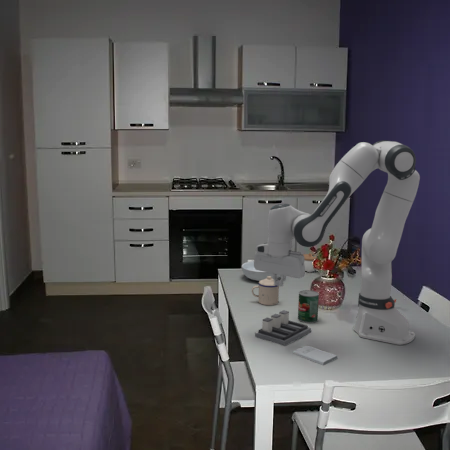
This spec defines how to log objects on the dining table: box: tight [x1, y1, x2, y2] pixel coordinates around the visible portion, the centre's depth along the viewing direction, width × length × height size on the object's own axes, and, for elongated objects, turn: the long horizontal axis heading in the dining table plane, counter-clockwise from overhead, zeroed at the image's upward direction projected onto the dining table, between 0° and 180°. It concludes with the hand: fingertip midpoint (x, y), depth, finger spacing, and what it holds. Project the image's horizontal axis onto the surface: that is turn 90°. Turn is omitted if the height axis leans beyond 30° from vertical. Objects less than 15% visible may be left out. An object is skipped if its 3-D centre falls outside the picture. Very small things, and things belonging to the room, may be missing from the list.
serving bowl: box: [241, 260, 280, 282], centre depth 283 cm, size 21×21×7 cm
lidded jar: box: [302, 252, 316, 273], centre depth 300 cm, size 11×11×9 cm
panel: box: [254, 320, 312, 347], centre depth 211 cm, size 13×18×2 cm
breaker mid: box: [270, 313, 281, 328], centre depth 213 cm, size 2×3×5 cm
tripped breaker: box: [261, 316, 273, 332], centre depth 209 cm, size 2×3×5 cm
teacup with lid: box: [251, 276, 280, 306], centre depth 247 cm, size 12×9×12 cm
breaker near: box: [278, 309, 290, 324], centre depth 217 cm, size 2×3×5 cm
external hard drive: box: [293, 344, 338, 366], centre depth 193 cm, size 2×8×12 cm
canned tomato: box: [297, 289, 320, 324], centre depth 227 cm, size 8×8×11 cm
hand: (278, 285), depth 208 cm, fingers closed
